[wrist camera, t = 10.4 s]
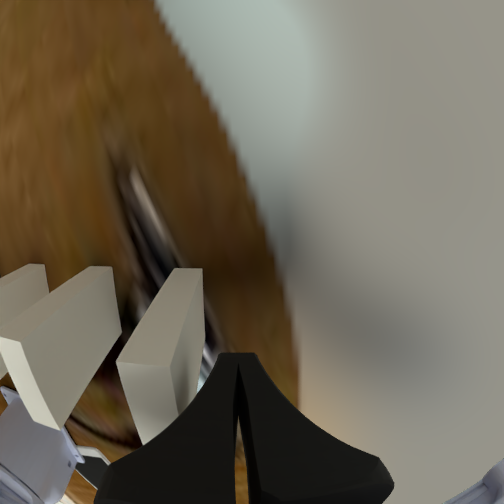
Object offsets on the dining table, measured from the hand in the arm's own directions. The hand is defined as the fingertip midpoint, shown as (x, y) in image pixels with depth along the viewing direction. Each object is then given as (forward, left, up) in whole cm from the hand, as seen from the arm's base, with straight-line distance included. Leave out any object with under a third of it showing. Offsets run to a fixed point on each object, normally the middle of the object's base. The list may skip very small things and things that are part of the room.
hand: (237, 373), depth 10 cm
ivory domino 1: (0, +3, -6) cm, 7 cm away
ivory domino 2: (0, +8, -6) cm, 10 cm away
